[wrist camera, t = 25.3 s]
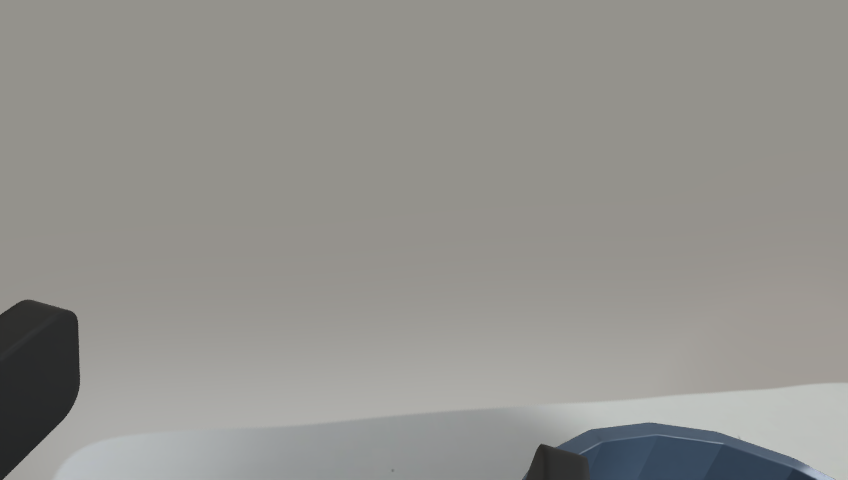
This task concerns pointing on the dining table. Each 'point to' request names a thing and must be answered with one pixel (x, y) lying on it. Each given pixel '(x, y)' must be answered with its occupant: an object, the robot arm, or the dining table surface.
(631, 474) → the bowl
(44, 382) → the robot arm
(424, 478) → the dining table surface
